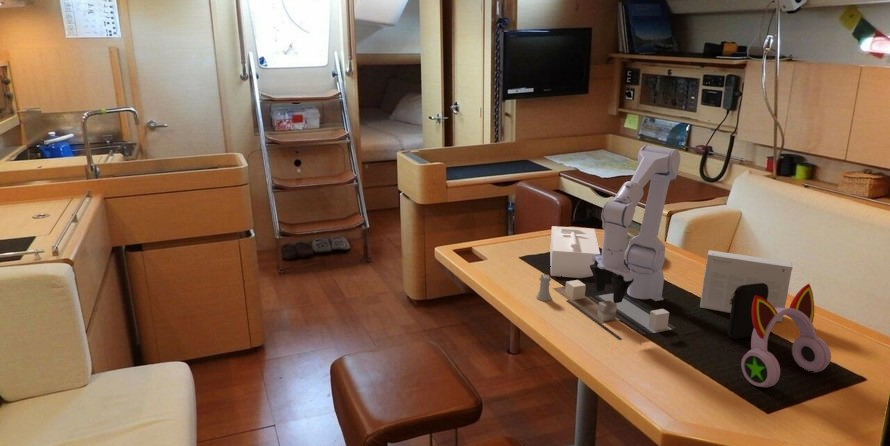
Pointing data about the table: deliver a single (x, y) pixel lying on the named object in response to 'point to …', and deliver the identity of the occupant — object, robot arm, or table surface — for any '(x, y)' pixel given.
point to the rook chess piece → (544, 288)
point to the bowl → (631, 234)
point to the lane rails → (618, 317)
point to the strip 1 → (594, 307)
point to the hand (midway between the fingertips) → (608, 296)
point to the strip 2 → (643, 315)
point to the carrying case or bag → (744, 309)
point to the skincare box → (742, 279)
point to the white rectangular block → (572, 251)
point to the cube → (575, 289)
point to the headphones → (805, 348)
